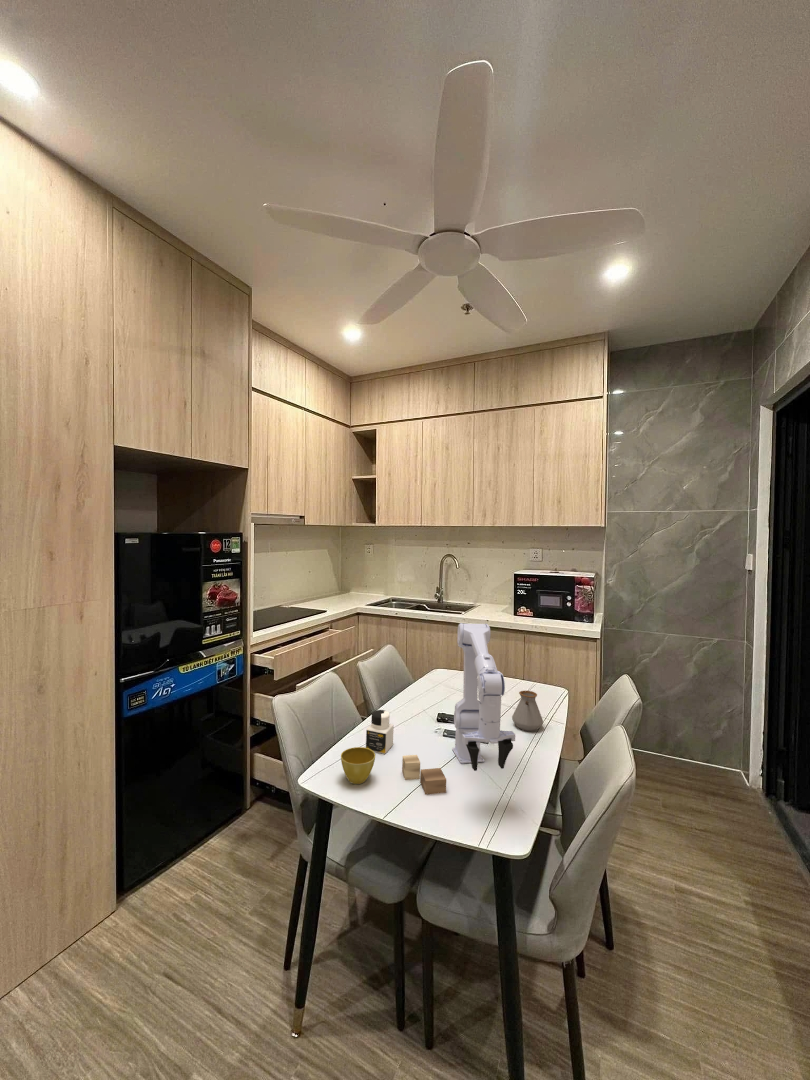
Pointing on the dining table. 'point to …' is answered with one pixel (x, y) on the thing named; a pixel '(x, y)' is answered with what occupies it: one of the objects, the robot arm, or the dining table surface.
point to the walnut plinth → (433, 781)
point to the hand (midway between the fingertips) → (487, 767)
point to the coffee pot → (527, 712)
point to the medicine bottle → (379, 732)
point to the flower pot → (357, 764)
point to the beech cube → (411, 767)
